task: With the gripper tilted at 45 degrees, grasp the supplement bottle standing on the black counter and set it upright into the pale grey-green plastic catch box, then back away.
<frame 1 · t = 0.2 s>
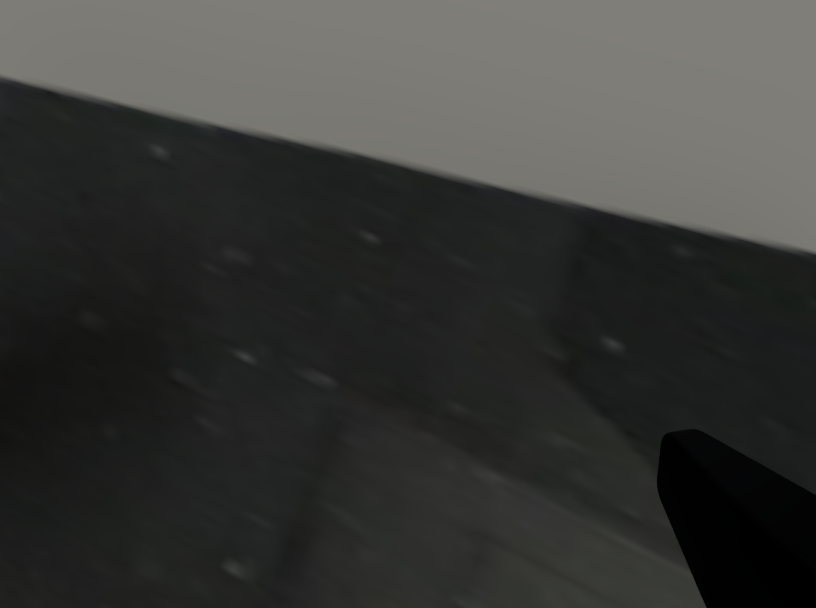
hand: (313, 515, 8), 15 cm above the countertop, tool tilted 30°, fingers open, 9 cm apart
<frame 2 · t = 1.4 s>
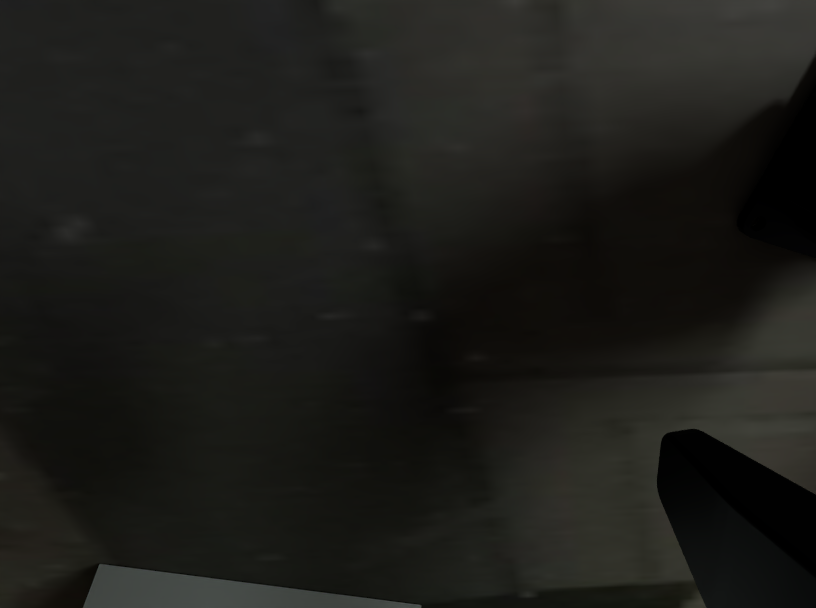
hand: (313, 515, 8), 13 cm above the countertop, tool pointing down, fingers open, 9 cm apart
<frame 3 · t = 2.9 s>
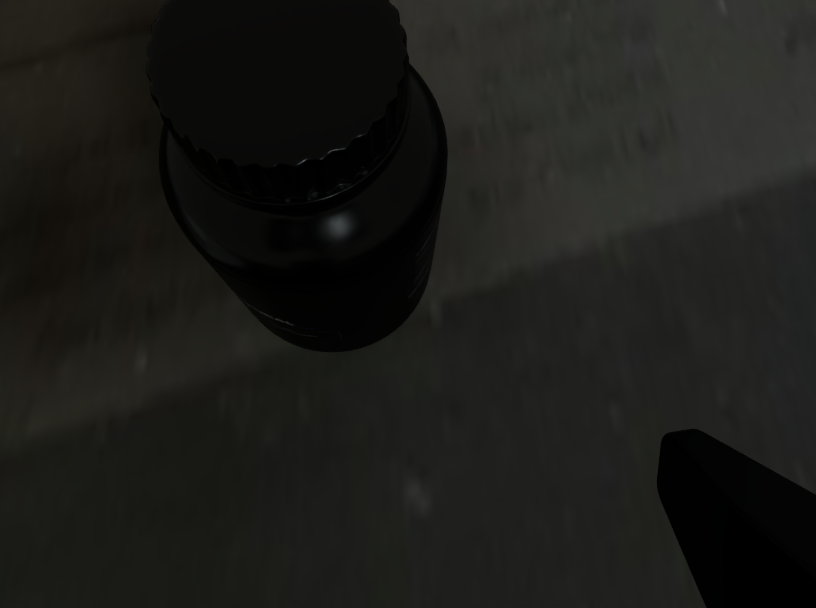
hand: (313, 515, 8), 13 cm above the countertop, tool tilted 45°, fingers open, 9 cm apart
supplement bottle: (338, 265, 23), on the countertop
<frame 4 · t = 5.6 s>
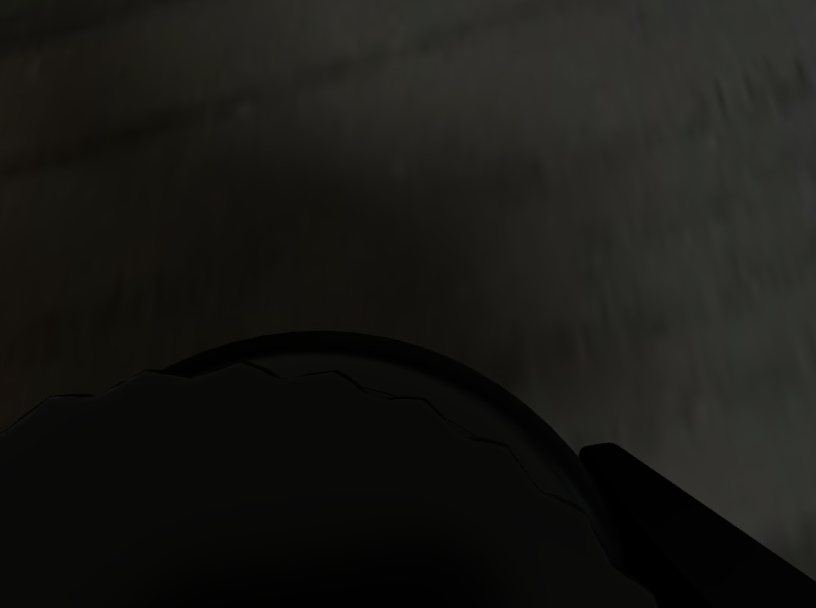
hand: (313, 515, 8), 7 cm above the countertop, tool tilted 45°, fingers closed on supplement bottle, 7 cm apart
supplement bottle: (361, 570, 14), on the countertop, touching gripper
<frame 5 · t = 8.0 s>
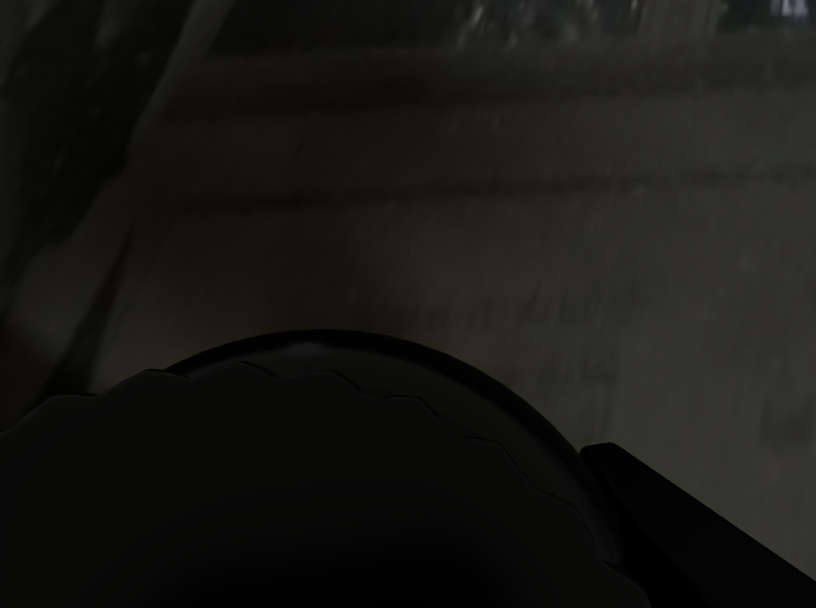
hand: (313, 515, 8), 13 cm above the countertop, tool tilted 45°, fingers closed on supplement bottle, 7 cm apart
supplement bottle: (366, 566, 14), point 6 cm above the countertop, touching gripper
when the fingers open (9 cm above the countertop, at t = 10.5 s): supplement bottle drops 1 cm, resting on catch box.
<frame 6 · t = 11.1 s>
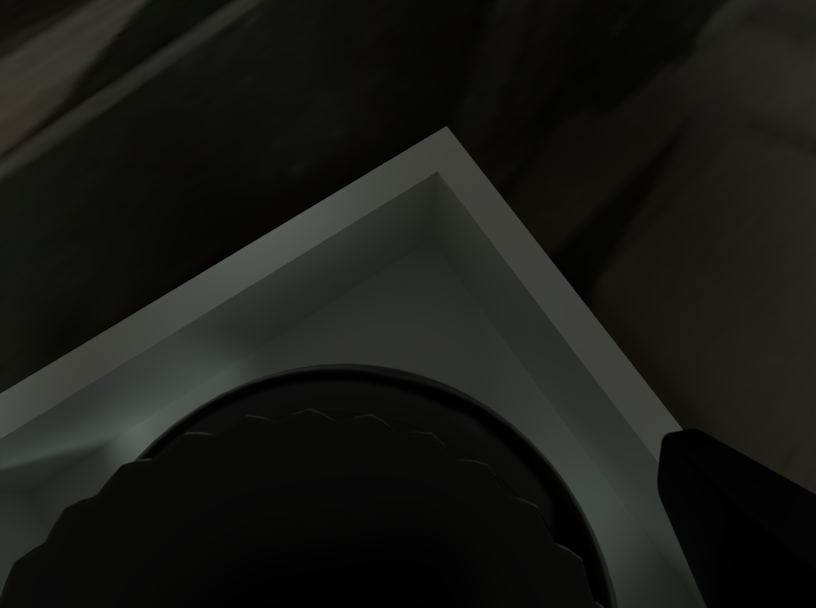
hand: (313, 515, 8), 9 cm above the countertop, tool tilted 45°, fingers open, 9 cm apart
supplement bottle: (370, 564, 16), point 1 cm above the countertop, touching catch box
catch box: (368, 559, 16), on the countertop
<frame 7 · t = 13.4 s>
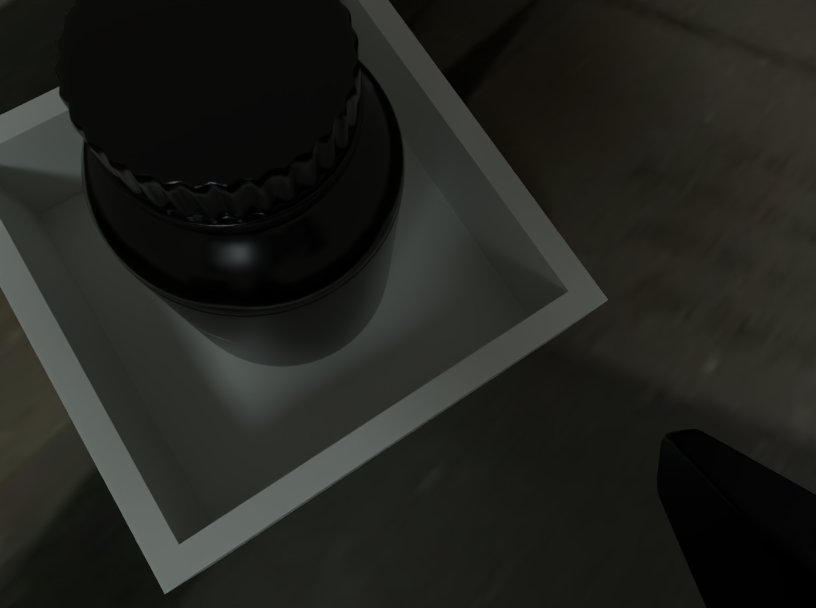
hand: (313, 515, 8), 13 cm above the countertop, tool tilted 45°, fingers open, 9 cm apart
supplement bottle: (289, 272, 22), point 1 cm above the countertop, touching catch box
catch box: (289, 275, 23), on the countertop
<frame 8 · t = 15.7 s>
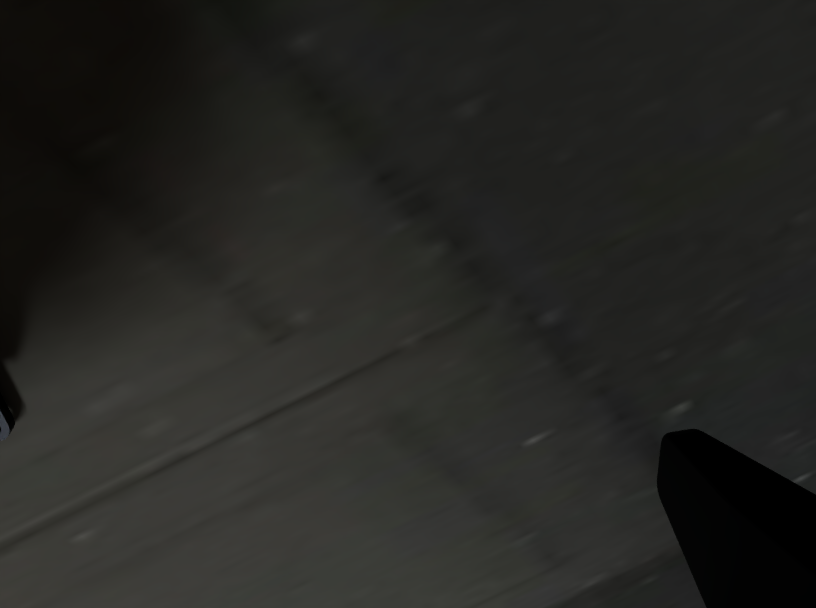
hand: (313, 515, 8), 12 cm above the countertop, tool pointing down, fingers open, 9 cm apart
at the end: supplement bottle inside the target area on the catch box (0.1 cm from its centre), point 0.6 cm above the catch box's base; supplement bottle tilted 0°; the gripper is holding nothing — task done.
